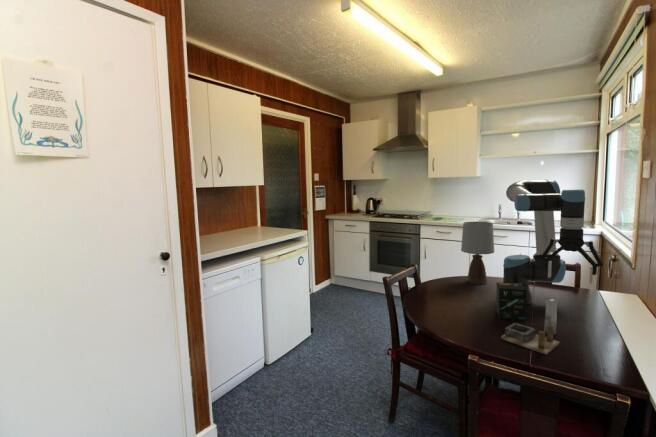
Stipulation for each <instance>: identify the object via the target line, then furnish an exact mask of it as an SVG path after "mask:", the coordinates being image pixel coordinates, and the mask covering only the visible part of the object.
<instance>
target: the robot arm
mask: <svg viewBox="0 0 656 437" xmlns="http://www.w3.org/2000/svg"><path fill="white" fill-rule="evenodd" d="M560 188H561V187H560V186H559V184H558V182H557V181H556V180H555V179H554V180H553V179H538V180H537V179H536V180H535V179H534V180H531V179H530V180H520V181H516V182H513V183H512V184H510V185H508V187H507V189H506V192H505V193H506V194H505V195H506V197H507V199H508V200H510V201H511V202H513V203H514V208H515V210H516V211H517V212H533V214H534V230H535V231H534V233H535V235H534V236H535V253H534V254H533V255H532V258H531V257H530V256H529V255H527V254H512V255H507V256H506V257H504V259H503V278H502V279H503V282H502V283H516V284H523V286H524V287H525V288H526V305H530V304H533V298H534V297H533V294H532V292H531V288H530V282H535V283H549V284H553V283H554V284H558V283H561V282H562V281H563V280H564V278H565V275H566V270H567V269H566V268H567V265H566V261H565V260H564V259H561V255H560V254H559V253H560V252H562V251H563V250H564V251H565V252H578V253H579V254H580V255H581V256H582V257H583V258H584V259H585V260H586V261H587V262H588V263H589V264H590V266H589V279H588V280H589V281H588V282H589V284H591V285H592V284H593V280H594V279H593V276H596V275H597V271H598V270H597V269H598V267H603V265H604V262H603V260H602V259H601V257H600V255H599V254H598V252H597V250H596V248H595V246H594V241H593V240H590V241H585V240H584V229H583V228H584V224H585V207H586V204H585V203H586V192H585V190H584V189H583V188H582V189H581V188H578V189H577V188H573V189H569V188H567V189H562V191H561V189H560ZM554 212H560V219H559V222H560V223H559V226H560V227H561V228H560V229H559V239H556V226H555V213H554ZM557 243H558V244H559V246H560V247H558V248H557ZM584 245H585V246H586V247H587V248H589V251H590V252H591V254H592V256H593V257H594V259H595V260H594V259H593V258H592V257H591V256H590V255H589V254H588V253H587V252H586V251H585V249H584V248H583V247H584Z"/></svg>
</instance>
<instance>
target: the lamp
mask: <svg viewBox="0 0 656 437" xmlns="http://www.w3.org/2000/svg"><path fill="white" fill-rule="evenodd" d="M494 240H495V238H494V223H493V222H489V221H465V222H464V221H463V223H462V235H461V246H460V247H461V248H460V251H461V252H462V253H466V254H469V255H470V254H472V256H471V257H472V259H471V262H470V264H469V267H468V273H467V279H466V280H467V282H468V283H469V284H472V285H485V284H486V285H487V283H488V279H487V271H486V266H485V264H484V261H483V259H482V258H483V257H484V256H483V255H490V254H494V253H495V241H494Z"/></svg>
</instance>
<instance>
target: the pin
mask: <svg viewBox="0 0 656 437" xmlns="http://www.w3.org/2000/svg"><path fill="white" fill-rule="evenodd" d="M544 302H545V303H544V324H543V325H544V326H543V331H544V332H545V334H547V325H552V326H553V336H554V335H557V316H558V314H557V312H558V300H557V299H555V298H552V297H547V298H545V300H544Z"/></svg>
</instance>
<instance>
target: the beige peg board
mask: <svg viewBox="0 0 656 437" xmlns="http://www.w3.org/2000/svg"><path fill="white" fill-rule="evenodd" d="M536 332H537V329H536V328H533V327H530V326H527V325H524V324H520V323H518V322H513V323H512V324H509V325H508V326H506V327H505V328H504V334H503V335H501V338H500V339H502V340H504V341H506V342H510V343H512V344H516V345H518V346H521V347H524V348H526V349H530V350H532V351H535V352H538V353H540V354H543V355H548V354H549V353H551V352H552V351H553V350H554V349H555V348H556V347H558V346H559V345H560V341H558V340H555V339H554V335H553V326H552V325H547V333H545V332H544V330H538V333H536Z"/></svg>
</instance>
